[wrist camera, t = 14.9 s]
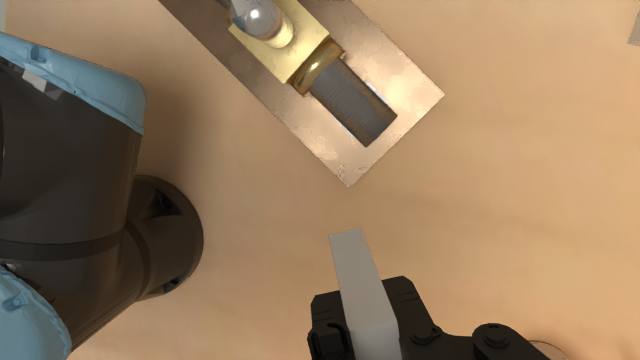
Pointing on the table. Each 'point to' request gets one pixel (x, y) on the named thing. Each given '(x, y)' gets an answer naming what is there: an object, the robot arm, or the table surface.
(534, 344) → the teacup with lid
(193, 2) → the valve stand
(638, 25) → the milk
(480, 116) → the table surface
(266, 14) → the lever
